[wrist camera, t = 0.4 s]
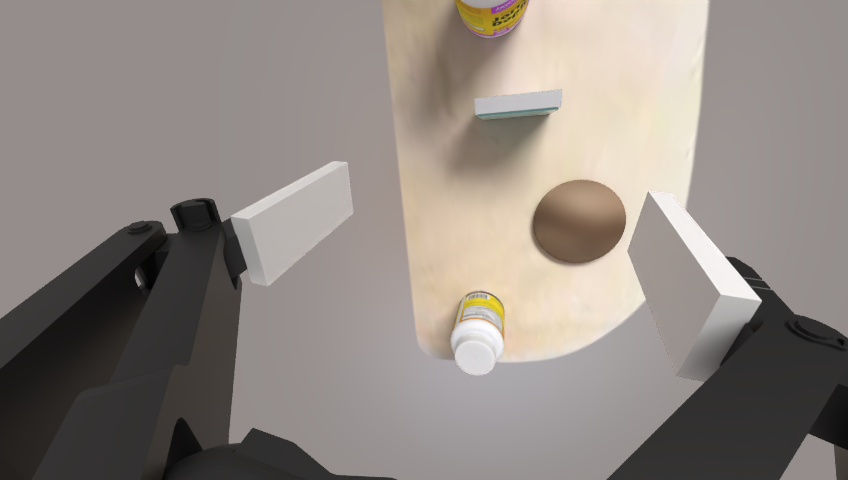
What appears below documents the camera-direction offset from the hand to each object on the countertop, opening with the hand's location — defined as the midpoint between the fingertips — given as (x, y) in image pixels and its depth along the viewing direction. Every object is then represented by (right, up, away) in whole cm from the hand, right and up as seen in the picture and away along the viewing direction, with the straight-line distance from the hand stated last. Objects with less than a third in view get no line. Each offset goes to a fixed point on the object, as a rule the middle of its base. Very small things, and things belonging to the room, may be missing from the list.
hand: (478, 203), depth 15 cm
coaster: (+14, 0, +21) cm, 25 cm away
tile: (+7, +12, +19) cm, 24 cm away
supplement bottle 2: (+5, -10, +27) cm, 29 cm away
